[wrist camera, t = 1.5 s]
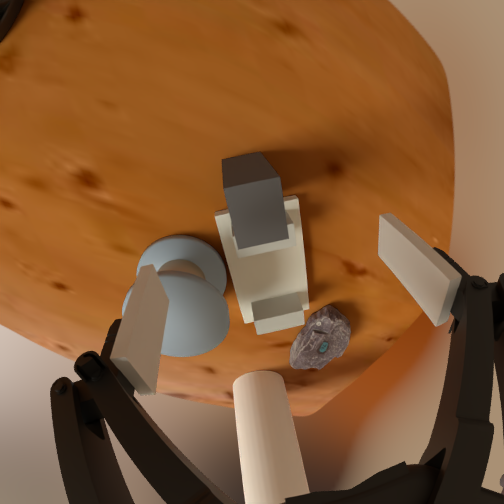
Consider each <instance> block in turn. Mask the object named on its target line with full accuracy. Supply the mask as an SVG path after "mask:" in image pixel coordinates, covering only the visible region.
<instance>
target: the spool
mask: <svg viewBox="0 0 504 504" xmlns="http://www.w3.org/2000/svg"><path fill="white" fill-rule="evenodd" d="M150 264H153V265H154V267H155V269H156V272H157V274H158V276H159V279H160V281H161V283H162V286H163V288H164V290H165V292H166V295H167V297H168V299H169V307H168V312H167V318H166V324H165V330H164V336H163V342H162V349H161V354H164V355H168V356H175V357H189V356H196V355H200V354H203V353H206V352H208V351H210V350H212V349H214V348H215V347H216V346H218V345H219V344H220V343H221V342H222V341H223V340H224V338H225V337H226V335H227V333H228V330H229V324H230V321H229V309H228V305H227V302H226V300H225V298H224V297H223V293H224V291H225V288H226V282H227V279H226V268H225V264H224V262H223V260H222V258H221V256H220V255H219V253H218V252H217V251H216V250H215V249H214V248H213V247H212V246H211V245H209V244H208V243H206V242H205V241H203V240H200V239H198V238H195V237H192V236H187V235H172V236H167V237H163V238H161V239H159V240H156V241H155V242H153V243H152V244H151V245H150V246H148V247H147V249H146V250H145V251H144V253H143V254H142V256H141V259H140V261H139V264H138V267H137V276H138V273H139V270H140V268H141V266H145V265H150ZM134 284H135V283H134ZM134 284H133V285H132V286H131V287H130V289H129V291H128V292H127V295H126V298H125V301H124V304H123V308H122V316H123V315H124V312H125V309H126V306H127V303H128V300H129V297H130V295H131V292H132V289H133V286H134Z"/></svg>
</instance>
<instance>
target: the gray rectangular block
mask: <svg viewBox="0 0 504 504" xmlns="http://www.w3.org/2000/svg"><path fill="white" fill-rule="evenodd" d="M222 173H223V189H224V193H225V197H226V201H227V206H228V210H229V214H230V218H231V222H232V226H233V231H234V235H235V239H236V243H237V247H238V250H239V249H244V248H249V247H253V246H258V245H262V244H267V243H272V242H276V241H281V240H285V239H289V234H288V227H287V220H286V213H285V206H284V199H283V193H282V186H281V180H280V176H279V175H278V174H277V172H276V171H275V170H274V169H273V167H272V166H271V165H270V163H269V162H268V161H267V160H266V158H265V157H264V156H263V155H262V153H261V152H256V153H251V154H246V155H241V156H237V157H232V158H227V159H223V160H222Z"/></svg>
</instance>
